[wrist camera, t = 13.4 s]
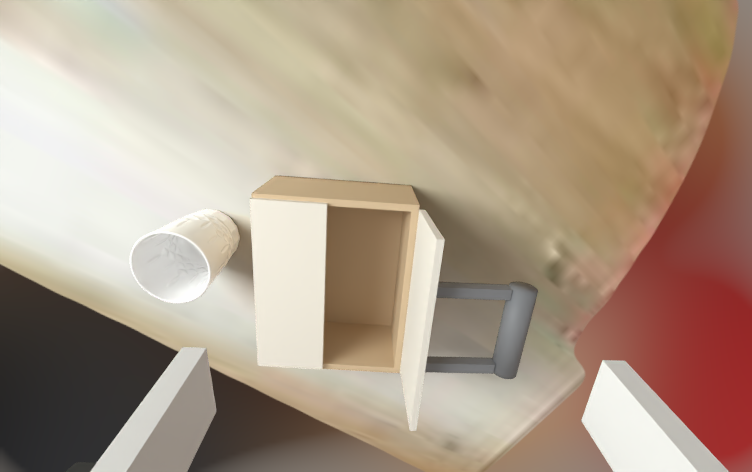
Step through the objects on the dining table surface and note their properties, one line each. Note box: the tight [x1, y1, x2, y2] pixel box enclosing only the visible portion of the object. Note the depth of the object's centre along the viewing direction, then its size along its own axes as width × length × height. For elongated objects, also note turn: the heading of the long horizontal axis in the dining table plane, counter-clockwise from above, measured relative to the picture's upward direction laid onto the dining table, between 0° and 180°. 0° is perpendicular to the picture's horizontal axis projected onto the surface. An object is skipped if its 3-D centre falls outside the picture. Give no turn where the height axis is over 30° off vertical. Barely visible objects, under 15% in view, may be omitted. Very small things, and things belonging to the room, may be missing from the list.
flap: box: [400, 210, 538, 431], centre depth 35 cm, size 19×8×10 cm
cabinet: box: [250, 176, 420, 373], centre depth 42 cm, size 20×16×10 cm
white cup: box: [130, 209, 240, 303], centre depth 40 cm, size 8×8×10 cm
